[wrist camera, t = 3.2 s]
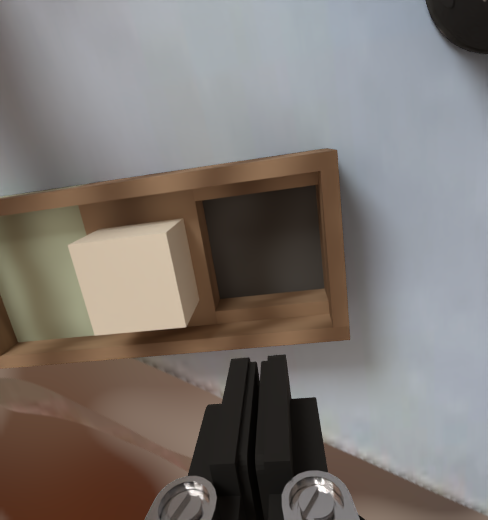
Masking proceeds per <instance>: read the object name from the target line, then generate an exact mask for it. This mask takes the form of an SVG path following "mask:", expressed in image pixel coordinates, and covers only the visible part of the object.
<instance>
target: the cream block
mask: <svg viewBox="0 0 488 520" xmlns="http://www.w3.org/2000/svg"><path fill="white" fill-rule="evenodd" d="M68 248H69V252H70V255H71V258H72V262H73V265H74V268H75V272H76V275H77V278H78V282H79V285H80V288H81V292H82V295H83V298H84V302H85V305H86V308H87V312H88V315H89V318H90V322H91V325H92V328H93V332H94V335H95V336H97V335H108V334H119V333H129V332H140V331H151V330H162V329H173V328H184V327H187V325H188V323H189V321H190V319H191V317H192V315H193V312H194V310H195V308H196V306H197V304H198V302H199V296H198V290H197V285H196V280H195V275H194V270H193V265H192V260H191V255H190V250H189V245H188V240H187V235H186V230H185V225H184V220H183V218H181V219H173V220H166V221H158V222H150V223H143V224H135V225H128V226H120V227H112V228H105V229H98V230H96V231H94V232H92V233H90V234H88V235H87V236H85V237H83V238H81V239H79V240H77V241H75V242H73V243H71V244H69V245H68Z"/></svg>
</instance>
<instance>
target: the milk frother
mask: <svg viewBox="0 0 488 520" xmlns="http://www.w3.org/2000/svg"><path fill="white" fill-rule="evenodd" d="M426 4H427V7H428V10H429V12H430V15H431V17H432V19H433V21H434V22H435V24H436V26H437V27H438V28H439V30H440V31H441V32H442V34H443V35H444V36H446V37H447V38H448V39H449V40H450V41H452V42H453V43H454V44H456V45H457V46H459V47H461V48H463V49H466V50H468V51H472V52H477V53H482V54H488V0H426Z"/></svg>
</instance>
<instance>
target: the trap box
mask: <svg viewBox="0 0 488 520" xmlns="http://www.w3.org/2000/svg"><path fill="white" fill-rule="evenodd" d="M181 218H183V220H184V225H185V230H186V235H187V240H188V245H189V250H190V255H191V260H192V265H193V270H194V275H195V280H196V285H197V290H198V296H199V302H198V304H197V306H196V308H195V310H194V312H193V315H192V317H191V319H190V321H189V323H188V325H187V327H184V328H173V329H162V330H151V331H140V332H129V333H119V334H108V335H97V336H95V335H94V332H93V328H92V325H91V322H90V318H89V315H88V312H87V308H86V305H85V302H84V298H83V295H82V292H81V288H80V285H79V282H78V278H77V275H76V272H75V268H74V265H73V262H72V258H71V255H70V252H69V248H68V245H69V244H71V243H73V242H75V241H77V240H79V239H81V238H83V237H85V236H87V235H88V234H90V233H92V232H94V231H96V230H98V229H105V228H112V227H120V226H128V225H135V224H143V223H150V222H158V221H166V220H173V219H181ZM342 340H350V330H349V315H348V301H347V286H346V272H345V257H344V242H343V228H342V213H341V199H340V184H339V170H338V155H337V150H334V149H328V148H326V149H319V150H312V151H305V152H299V153H292V154H285V155H278V156H272V157H265V158H258V159H251V160H245V161H238V162H231V163H224V164H218V165H211V166H204V167H198V168H191V169H184V170H177V171H171V172H164V173H157V174H150V175H144V176H137V177H130V178H123V179H117V180H110V181H103V182H97V183H90V184H83V185H76V186H70V187H63V188H56V189H49V190H43V191H36V192H29V193H22V194H16V195H9V196H2V197H0V369H3V368H15V367H27V366H39V365H52V364H62V363H76V362H88V361H100V360H110V359H111V360H112V359H124V358H136V357H148V356H160V355H172V354H185V353H197V352H209V351H221V350H233V349H245V348H257V347H269V346H281V345H293V344H305V343H317V342H330V341H342Z"/></svg>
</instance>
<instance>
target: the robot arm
mask: <svg viewBox="0 0 488 520" xmlns="http://www.w3.org/2000/svg"><path fill="white" fill-rule="evenodd" d="M145 520H365V519H363V518H362V517H361V516H359V515H358V513H357V511H356V508H355V505H354V503H353V500H352V498H351V495H350V493H349V491H348V489H347V488H346V486H345V484H343V483H342V482H341V481H340V480H339V479H338V478H337V477H335V476H333V475H331V474H329V473H328V470H327V464H326V457H325V451H324V445H323V439H322V432H321V426H320V420H319V413H318V407H317V401H316V397H313V398H299V399H291V392H290V384H289V376H288V368H287V361H286V355H274V356H268V361H262V362H261V374H260V380H259V373H258V367H257V362H250V358H238V359H231V363H230V367H229V372H228V377H227V381H226V386H225V391H224V396H223V401H222V404H211V405H208V406H207V407H206V410H205V414H204V417H203V421H202V425H201V428H200V432H199V436H198V440H197V443H196V447H195V451H194V455H193V458H192V462H191V466H190V469H189V473H188V476H186V477H182V478H179V479H176V480H175V481H173V482H171V483H170V484H168V485H167V486H166V487H165V488H164V489H163V490H161V491H160V493H159V494H158V496H157V497H156V499H155V500H154V502H153V504H152V506H151V508H150V510H149V512H148V514H147V516H146V518H145Z"/></svg>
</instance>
